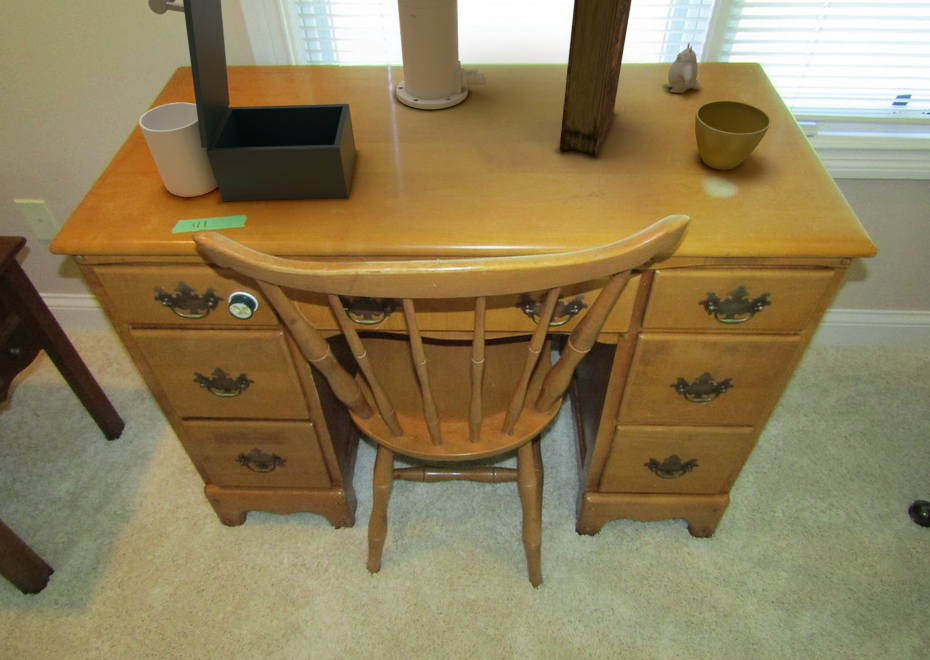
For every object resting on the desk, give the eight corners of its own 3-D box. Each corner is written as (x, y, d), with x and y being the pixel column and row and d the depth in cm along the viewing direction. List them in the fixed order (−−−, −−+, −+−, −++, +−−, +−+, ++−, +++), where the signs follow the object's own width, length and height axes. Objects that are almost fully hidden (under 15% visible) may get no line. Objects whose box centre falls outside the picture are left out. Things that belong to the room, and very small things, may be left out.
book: (582, 106, 107) (603, -62, 89) (614, 111, 106) (642, -59, 88) (558, 154, 96) (576, -27, 79) (594, 160, 95) (621, -23, 77)
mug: (180, 156, 97) (156, 91, 90) (234, 153, 98) (214, 88, 90) (159, 200, 89) (130, 132, 82) (218, 197, 89) (195, 129, 82)
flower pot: (692, 179, 91) (704, 133, 86) (678, 143, 98) (689, 99, 93) (763, 180, 91) (780, 134, 85) (744, 144, 98) (759, 100, 92)
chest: (356, 151, 98) (348, 103, 92) (348, 197, 89) (339, 147, 83) (242, 155, 98) (227, 106, 92) (222, 201, 89) (205, 151, 83)
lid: (217, -35, 79) (169, -44, 78) (190, 0, 70) (134, -10, 69) (229, 104, 92) (187, 98, 91) (207, 148, 83) (161, 142, 82)
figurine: (660, 80, 114) (670, 35, 108) (693, 79, 114) (704, 34, 108) (670, 100, 108) (681, 54, 103) (705, 99, 108) (717, 53, 103)
